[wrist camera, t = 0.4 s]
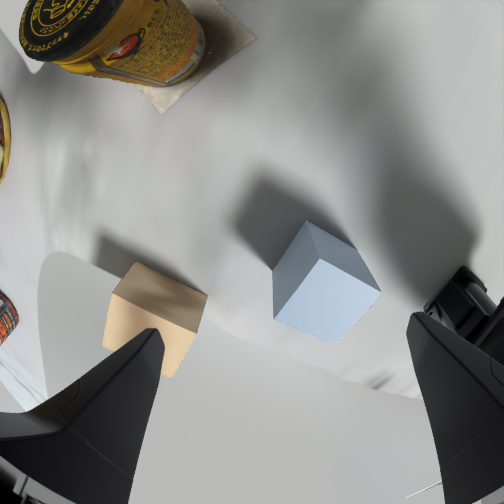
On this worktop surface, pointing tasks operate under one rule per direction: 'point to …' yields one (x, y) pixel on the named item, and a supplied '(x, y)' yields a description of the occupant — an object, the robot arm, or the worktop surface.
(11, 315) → the supplement bottle
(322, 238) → the blue block
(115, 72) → the condiment
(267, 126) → the worktop surface
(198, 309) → the tan block
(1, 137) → the food
